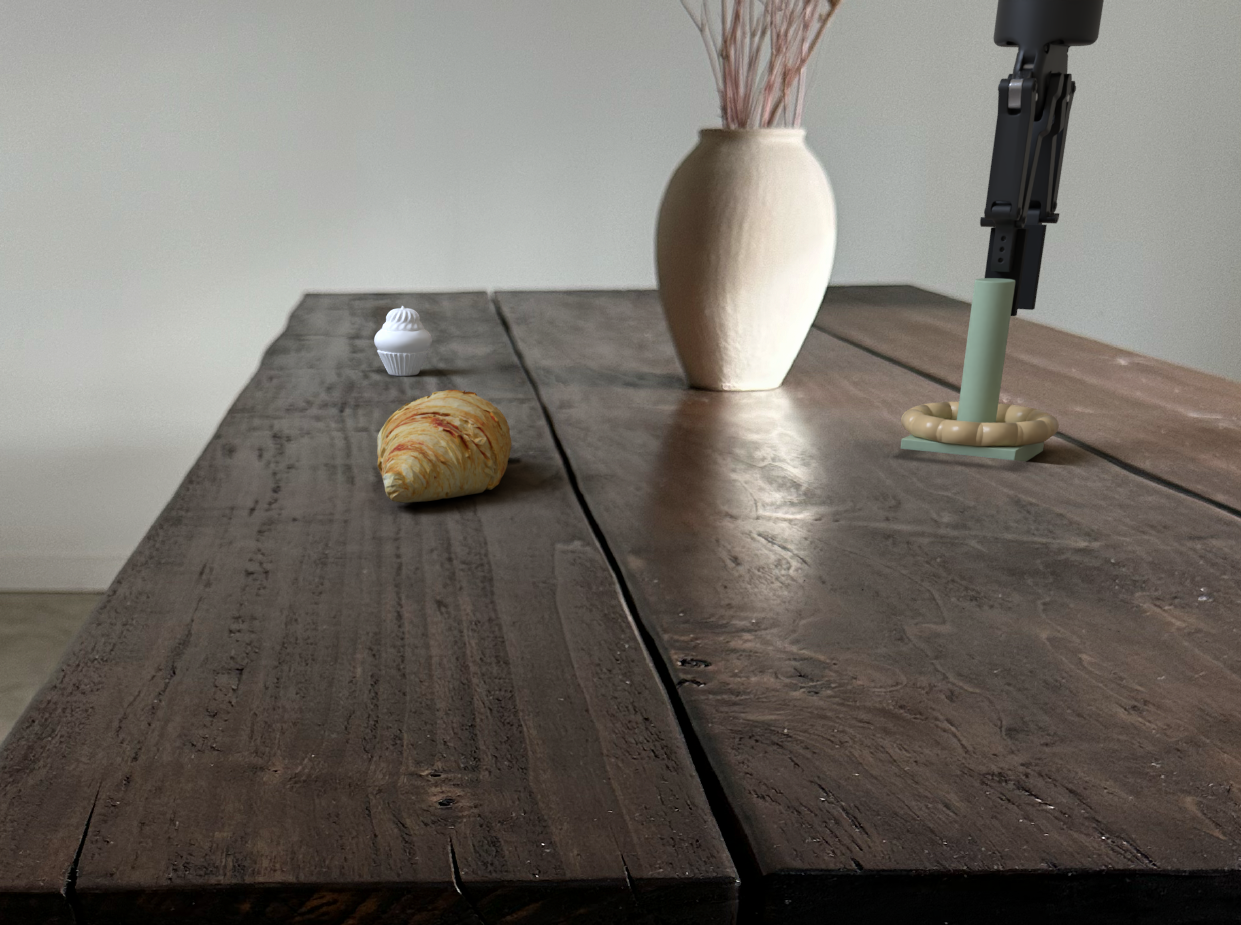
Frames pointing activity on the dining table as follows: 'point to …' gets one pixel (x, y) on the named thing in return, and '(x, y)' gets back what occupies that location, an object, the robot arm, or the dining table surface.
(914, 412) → the ring
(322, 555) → the dining table surface
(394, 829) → the dining table surface
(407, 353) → the muffin
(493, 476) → the croissant
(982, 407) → the post
